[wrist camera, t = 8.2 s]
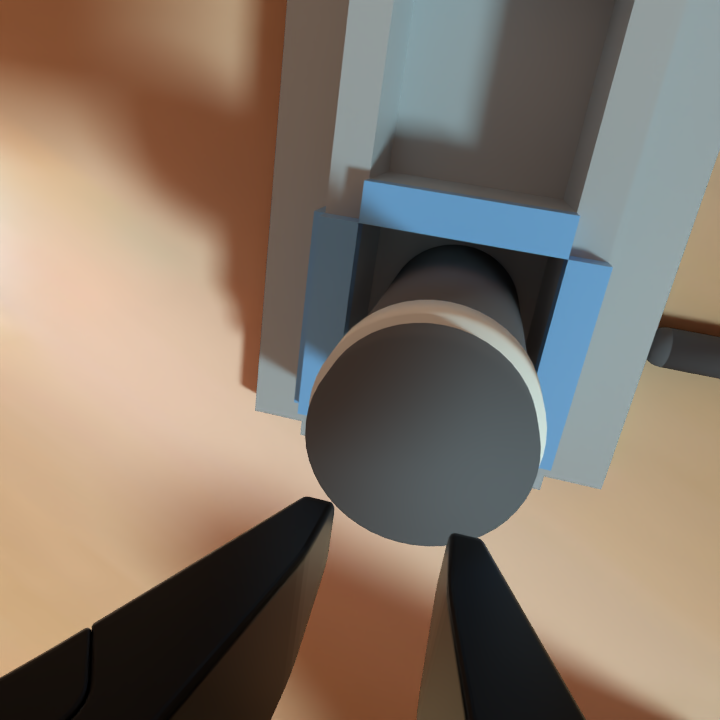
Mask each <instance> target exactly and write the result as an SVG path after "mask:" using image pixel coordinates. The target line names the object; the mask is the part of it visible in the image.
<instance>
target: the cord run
mask: <svg viewBox="0 0 720 720" xmlns="http://www.w3.org/2000/svg"><path fill="white" fill-rule="evenodd" d="M647 360H648V361H649V362H650V363H651V364H653V365H655V366H659V367H663V368H668V369H673V370H678V371H683V372H688V373H693V374H699V375H704V376H709V377H714V378H719V379H720V337H716V336H711V335H705V334H700V333H695V332H689V331H684V330H679V329H673V328H666V327H663V328H658V329H657V330H656V333H655V336H654V339H653V342H652V345H651V348H650V350H649V353H648V356H647Z"/></svg>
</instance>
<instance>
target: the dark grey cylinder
mask: <svg viewBox="0 0 720 720" xmlns="http://www.w3.org/2000/svg"><path fill="white" fill-rule="evenodd" d="M546 436H547V422H546V412H545V407H544V402H543V396H542V391H541V387H540V383H539V379H538V375H537V373H536V370H535V368H534V365H533V363H532V361H531V360H530V358H529V356H528V354H527V350H526V344H525V338H524V331H523V325H522V319H521V313H520V306H519V300H518V295H517V291H516V288H515V285H514V283H513V280H512V279H511V277H510V275H509V273H508V272H507V271H506V269H505V268H504V267H503V266H502V265H501V264H500V263H499V262H498V261H497V260H496V259H494V258H493V257H492V256H490V255H489V254H487V253H485V252H483V251H481V250H479V249H476V248H474V247H470V246H466V245H457V244H453V245H442V246H437V247H433V248H430V249H428V250H425V251H423V252H421V253H420V254H418V255H416V256H415V257H413V258H412V259H411V260H410V261H408V262H407V264H406V265H405V266H404V267H403V268H402V269H401V270H400V272H399V273H398V275H397V276H396V277H395V279H394V280H393V281H392V283H391V284H390V286H389V287H388V288H387V290H386V291H385V293H384V294H383V295H382V297H381V298H380V300H379V301H378V302H377V304H376V305H375V307H374V308H373V309H372V311H371V312H370V314H369V315H368V316H367V317H365V318H364V319H362V320H361V321H360V322H359V323H357V324H356V325H355V326H353V327H352V328H351V330H350V331H349V332H348V333H347V334H346V335H345V336H344V337H343V338H342V339H341V341H340V342H339V343H338V345H337V346H336V347H335V349H334V350H333V351H332V353H331V354H330V355H329V357H328V358H327V359H326V361H325V362H324V364H323V365H322V367H321V369H320V371H319V373H318V375H317V376H316V379H315V382H314V385H313V387H312V391H311V396H310V401H309V408H308V413H307V418H306V428H305V439H306V449H307V453H308V457H309V461H310V464H311V467H312V469H313V472H314V474H315V476H316V478H317V480H318V482H319V484H320V486H321V487H322V489H323V490H324V492H325V493H326V494H327V496H328V497H329V498H330V499H331V501H332V502H333V503H334V504H335V505H336V506H337V507H338V508H339V509H340V510H341V511H342V512H343V513H344V514H345V515H346V516H348V517H349V518H350V519H352V520H353V521H354V522H356V523H357V524H359V525H360V526H362V527H364V528H366V529H367V530H369V531H371V532H373V533H375V534H377V535H380V536H382V537H384V538H387V539H391V540H394V541H397V542H401V543H406V544H411V545H420V546H445V545H447V542H448V538H449V536H450V535H451V534H452V533H458V534H463V535H467V536H471V537H475V538H477V537H480V536H483V535H485V534H486V533H488V532H490V531H492V530H494V529H496V528H497V527H498V526H500V525H501V524H503V523H504V522H505V521H507V520H508V519H509V518H510V517H511V516H512V515H513V514H514V513H515V512H516V511H517V510H518V509H519V507H520V506H521V505H522V504H523V502H524V501H525V500H526V498H527V496H528V494H529V493H530V491H531V489H532V487H533V484H534V482H535V479H536V477H537V473H538V469H539V466H540V463H541V460H542V458H543V454H544V450H545V445H546Z"/></svg>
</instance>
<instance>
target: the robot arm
mask: <svg viewBox="0 0 720 720" xmlns="http://www.w3.org/2000/svg"><path fill="white" fill-rule="evenodd" d="M333 517H334V506H333V504H332V503H331V502H328V501H324V500H320V499H316V498H312V497H303V498H301V499H299V500H298V501H296V502H294V503H293V504H291V505H289V506H288V507H286V508H284V509H283V510H281V511H279V512H278V513H276V514H274V515H273V516H271V517H270V518H268V519H266V520H265V521H263V522H261V523H260V524H258V525H256V526H255V527H253V528H251V529H250V530H248V531H246V532H245V533H243V534H241V535H240V536H238V537H236V538H235V539H233V540H231V541H230V542H228V543H226V544H225V545H223V546H221V547H220V548H218V549H216V550H215V551H213V552H211V553H210V554H208V555H206V556H205V557H203V558H201V559H200V560H198V561H196V562H195V563H193V564H191V565H190V566H188V567H186V568H185V569H183V570H181V571H180V572H178V573H177V574H175V575H173V576H172V577H170V578H168V579H167V580H165V581H163V582H162V583H160V584H158V585H157V586H155V587H153V588H152V589H150V590H148V591H147V592H145V593H143V594H142V595H140V596H138V597H137V598H135V599H133V600H132V601H130V602H128V603H127V604H125V605H123V606H122V607H120V608H118V609H117V610H115V611H113V612H112V613H110V614H108V615H107V616H105V617H103V618H102V619H100V620H98V621H97V622H95V623H94V624H93V625H92V632H91V629H90V628H85V629H83V630H81V631H80V632H78V633H76V634H75V635H73V636H71V637H70V638H68V639H66V640H65V641H63V642H61V643H60V644H58V645H56V646H55V647H53V648H51V649H50V650H48V651H46V652H44V653H43V654H41V655H39V656H37V657H36V658H34V659H32V660H30V661H29V662H27V663H25V664H23V665H22V666H20V667H18V668H16V669H15V670H13V671H11V672H9V673H8V674H6V675H4V676H2V677H0V720H271V718H272V716H273V713H274V711H275V709H276V707H277V705H278V702H279V700H280V698H281V696H282V694H283V691H284V689H285V686H286V684H287V681H288V679H289V677H290V674H291V671H292V669H293V666H294V663H295V660H296V657H297V654H298V651H299V648H300V645H301V641H302V638H303V635H304V632H305V629H306V626H307V623H308V619H309V616H310V613H311V610H312V607H313V604H314V600H315V597H316V594H317V591H318V588H319V585H320V582H321V578H322V575H323V572H324V569H325V565H326V561H327V557H328V551H329V544H330V537H331V530H332V523H333ZM417 720H586V719H585V718H584V716H583V714H582V712H581V711H580V709H579V707H578V705H577V704H576V702H575V700H574V698H573V697H572V695H571V693H570V691H569V690H568V688H567V686H566V685H565V683H564V681H563V679H562V678H561V676H560V674H559V672H558V671H557V669H556V667H555V665H554V664H553V662H552V660H551V659H550V657H549V655H548V653H547V652H546V650H545V648H544V646H543V645H542V643H541V641H540V639H539V638H538V636H537V634H536V632H535V631H534V629H533V627H532V626H531V624H530V622H529V620H528V619H527V617H526V615H525V613H524V612H523V610H522V608H521V606H520V605H519V603H518V601H517V600H516V598H515V596H514V594H513V593H512V591H511V589H510V587H509V586H508V584H507V582H506V580H505V579H504V577H503V575H502V574H501V572H500V570H499V568H498V567H497V565H496V563H495V561H494V560H493V558H492V556H491V554H490V553H489V551H488V549H487V547H486V546H485V544H484V542H483V541H482V540H481V539H479V538H475V537H471V536H467V535H463V534H458V533H452V534H451V535H450V536H449V538H448V542H447V546H446V550H445V554H444V558H443V562H442V567H441V571H440V575H439V579H438V583H437V588H436V593H435V599H434V605H433V612H432V618H431V624H430V630H429V637H428V643H427V649H426V656H425V662H424V668H423V674H422V681H421V687H420V694H419V702H418V709H417Z"/></svg>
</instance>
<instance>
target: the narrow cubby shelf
mask: <svg viewBox="0 0 720 720" xmlns="http://www.w3.org/2000/svg"><path fill="white" fill-rule="evenodd" d="M719 150H720V0H287V9H286V22H285V35H284V48H283V61H282V73H281V86H280V99H279V112H278V125H277V137H276V150H275V163H274V176H273V189H272V201H271V214H270V227H269V240H268V253H267V266H266V278H265V291H264V304H263V317H262V330H261V342H260V355H259V368H258V381H257V394H256V406H255V411H260V412H264V413H269V414H273V415H277V416H282V417H286V418H290V419H295V420H299V421H302V425H301V434H300V435H305V428H306V418H307V413H308V408H309V401H310V396H311V391H312V387H313V385H314V382H315V379H316V376H317V375H318V373H319V371H320V369H321V367H322V365H323V364H324V362H325V361H326V359H327V358H328V357H329V355H330V354H331V353H332V351H333V350H334V349H335V347H336V346H337V345H338V343H339V342H340V341H341V339H342V338H343V337H344V336H345V335H346V334H347V333H348V332H349V331H350V330H351V328H352V327H353V326H355V325H356V324H357V323H359V322H360V321H361V320H362V319H364V318H365V317H367V316H368V315H369V314H370V312H371V311H372V309H373V308H374V307H375V305H376V304H377V302H378V301H379V300H380V298H381V297H382V295H383V294H384V293H385V291H386V290H387V288H388V287H389V286H390V284H391V283H392V281H393V280H394V279H395V277H396V276H397V275H398V273H399V272H400V270H401V269H402V268H403V267H404V266H405V265H406V264H407V262H408V261H410V260H411V259H412V258H413V257H415V256H416V255H418V254H420V253H421V252H423V251H425V250H428V249H430V248H433V247H437V246H442V245H453V244H457V245H466V246H470V247H474V248H476V249H479V250H481V251H483V252H485V253H487V254H489V255H490V256H492V257H493V258H494V259H496V260H497V261H498V262H499V263H500V264H501V265H502V266H503V267H504V268H505V269H506V271H507V272H508V273H509V275H510V277H511V279H512V280H513V283H514V285H515V288H516V291H517V295H518V300H519V306H520V313H521V319H522V325H523V331H524V338H525V344H526V350H527V354H528V356H529V358H530V360H531V361H532V363H533V365H534V368H535V370H536V373H537V375H538V379H539V383H540V387H541V391H542V396H543V402H544V407H545V412H546V422H547V436H546V445H545V450H544V454H543V458H542V460H541V463H540V466H539V469H538V473H537V477H536V479H535V482H534V484H533V487H532V488H534V489H538V490H540V487H541V484H542V481H543V477H544V476H545V477H549V478H554V479H558V480H562V481H567V482H571V483H576V484H580V485H584V486H589V487H593V488H597V489H601V488H602V485H603V482H604V480H605V477H606V474H607V471H608V468H609V465H610V462H611V460H612V457H613V454H614V451H615V448H616V445H617V442H618V439H619V437H620V434H621V431H622V428H623V425H624V422H625V419H626V416H627V414H628V411H629V408H630V405H631V402H632V399H633V396H634V393H635V391H636V388H637V385H638V382H639V379H640V376H641V373H642V371H643V368H644V365H645V362H646V359H647V356H648V353H649V350H650V348H651V345H652V342H653V339H654V336H655V333H656V330H657V327H658V325H659V322H660V319H661V316H662V313H663V310H664V307H665V305H666V302H667V299H668V296H669V293H670V290H671V287H672V284H673V282H674V279H675V276H676V273H677V270H678V267H679V264H680V261H681V259H682V256H683V253H684V250H685V247H686V244H687V241H688V239H689V236H690V233H691V230H692V227H693V224H694V221H695V218H696V216H697V213H698V210H699V207H700V204H701V201H702V198H703V195H704V193H705V190H706V187H707V184H708V181H709V178H710V175H711V172H712V170H713V167H714V164H715V161H716V158H717V155H718V152H719Z"/></svg>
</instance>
